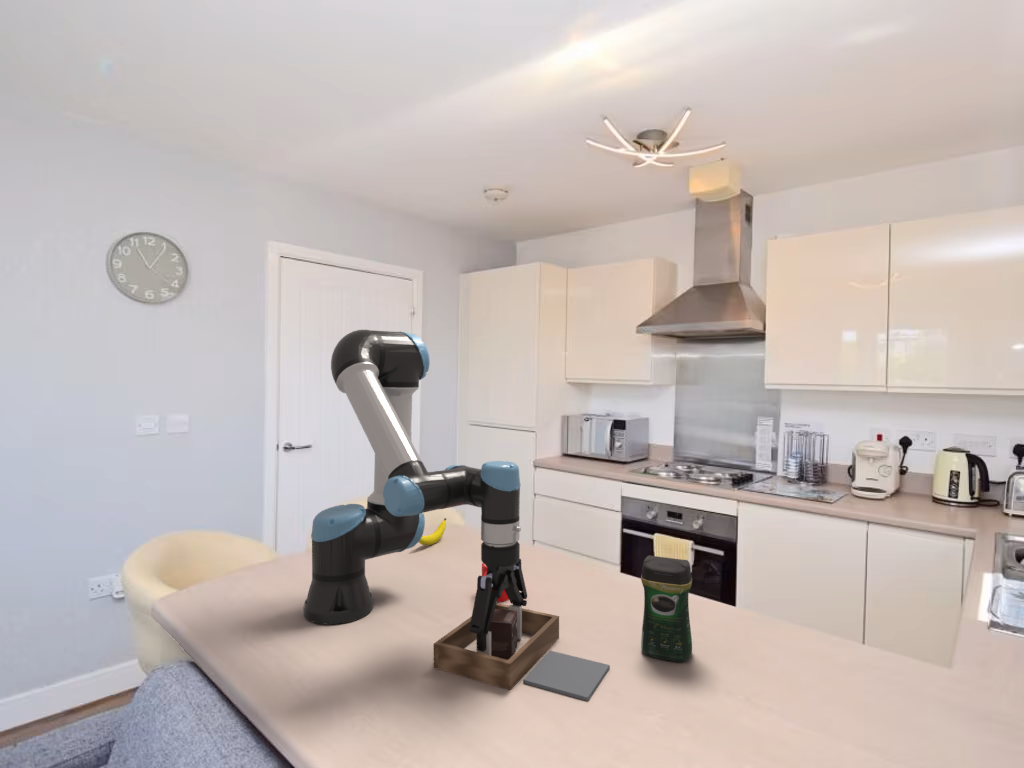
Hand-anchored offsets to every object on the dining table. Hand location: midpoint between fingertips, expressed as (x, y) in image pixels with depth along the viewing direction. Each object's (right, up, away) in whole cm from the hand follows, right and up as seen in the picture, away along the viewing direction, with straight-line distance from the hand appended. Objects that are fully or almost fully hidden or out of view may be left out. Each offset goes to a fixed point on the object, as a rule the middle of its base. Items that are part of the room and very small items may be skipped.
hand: (500, 651), depth 111 cm
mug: (-2, 0, +27) cm, 27 cm away
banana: (-24, +1, +70) cm, 74 cm away
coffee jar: (+33, -1, 0) cm, 33 cm away
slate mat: (+12, 0, -9) cm, 15 cm away
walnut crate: (0, 0, 0) cm, 0 cm away
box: (0, 0, 0) cm, 0 cm away
